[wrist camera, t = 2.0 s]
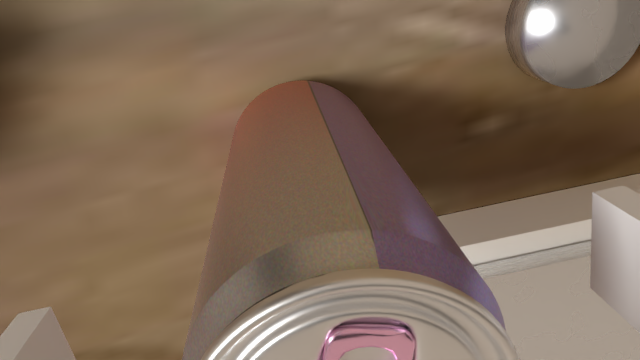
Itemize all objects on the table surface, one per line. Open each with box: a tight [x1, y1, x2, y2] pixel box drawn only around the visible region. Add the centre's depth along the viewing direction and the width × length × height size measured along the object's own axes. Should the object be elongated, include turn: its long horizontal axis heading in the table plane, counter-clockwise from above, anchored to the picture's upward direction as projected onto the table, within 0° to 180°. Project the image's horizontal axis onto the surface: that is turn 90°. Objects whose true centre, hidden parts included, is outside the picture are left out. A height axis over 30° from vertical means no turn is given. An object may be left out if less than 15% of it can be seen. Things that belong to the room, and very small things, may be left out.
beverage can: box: [182, 81, 520, 360], centre depth 15 cm, size 6×6×15 cm
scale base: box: [437, 174, 640, 266], centre depth 25 cm, size 14×14×3 cm
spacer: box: [505, 0, 640, 88], centre depth 20 cm, size 5×5×2 cm
